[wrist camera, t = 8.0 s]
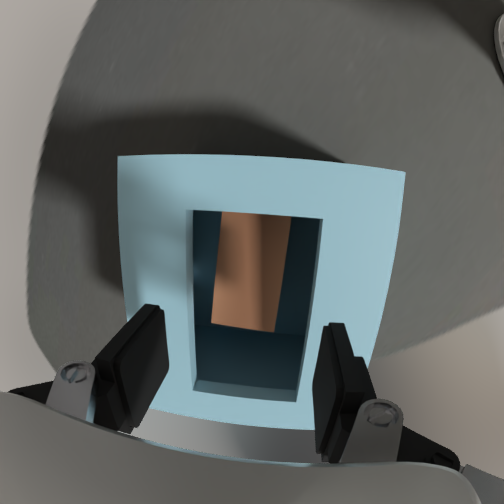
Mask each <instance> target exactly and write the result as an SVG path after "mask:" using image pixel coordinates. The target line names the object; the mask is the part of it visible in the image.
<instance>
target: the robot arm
mask: <svg viewBox="0 0 504 504" xmlns="http://www.w3.org/2000/svg"><path fill="white" fill-rule="evenodd" d="M494 40H495V48H496V52H497V56H498V60H499V62H500V65H501V68H502V71H503V73H504V14H503V15H501V16H499V18H498V19H497V21H496V24H495V28H494ZM168 371H169V355H168V346H167V335H166V324H165V313H164V310H163V309H161V308H160V306H159V305H153V304H146V303H145V304H144V305H143V306H142V307H141V308H140V309H139V310H138V311H137V312H136V314H135V315H134V316H133V317H132V318H131V319H130V320H129V321H128V322H127V323H126V324H125V325H124V326H123V328H122V329H121V330H120V331H119V332H118V333H117V334H116V335H115V336H114V337H113V338H112V339H111V341H110V342H109V343H108V344H107V345H106V346H105V347H104V348H103V349H102V350H101V352H100V353H99V354H98V355H97V356H96V357H95V360H94V361H93V362H92V363H91V364H90V363H89V362H86V361H81V360H77V361H71V362H68V363H66V364H64V365H62V366H61V367H60V368H59V369H58V371H57V373H56V376H55V379H54V381H51V382H45V383H41V384H36V385H31V386H26V387H21V388H16V389H13V390H10V391H9V392H0V504H504V480H503V479H501V478H498V477H496V476H493V475H491V474H488V473H486V472H484V471H481V470H479V469H477V468H475V467H472V466H470V465H468V464H467V465H465V467H463V466H461V465H460V461H459V459H458V457H457V456H456V454H455V453H454V452H452V451H451V450H449V449H448V448H446V447H443V446H441V445H439V444H437V443H435V442H433V441H431V440H429V439H427V438H426V437H424V436H422V435H420V434H418V433H416V432H414V431H412V430H410V429H408V428H407V427H405V426H403V419H404V418H403V412H402V411H401V409H400V408H399V407H398V406H397V405H396V404H394V403H393V402H391V401H388V400H385V399H377V397H376V394H375V391H374V388H373V385H372V382H371V379H370V375H369V372H368V369H367V366H366V363H365V360H364V358H363V357H362V356H354V353H353V349H352V346H351V343H350V340H349V337H348V333H347V330H346V327H345V324H344V323H336V322H329V324H328V326H323V330H322V335H321V341H320V346H319V351H318V357H317V362H316V367H315V371H314V376H313V381H312V395H313V410H314V425H315V441H316V442H315V443H316V453H317V454H320V453H321V457H322V462H329V463H331V464H321V463H288V462H273V461H261V460H252V459H243V458H235V457H227V456H220V455H214V454H208V453H203V452H197V451H192V450H187V449H182V448H178V447H173V446H169V445H165V444H160V443H156V442H153V441H149V440H145V439H141V438H138V437H134V436H130V435H127V434H124V433H128V434H131V432H132V430H133V428H134V427H135V428H137V427H138V426H139V425H140V423H141V421H142V419H143V417H144V415H145V414H146V412H147V410H148V408H149V406H150V404H151V403H152V401H153V399H154V397H155V395H156V393H157V391H158V390H159V388H160V386H161V384H162V382H163V380H164V379H165V377H166V375H167V373H168ZM117 431H121V432H124V433H121V432H117Z"/></svg>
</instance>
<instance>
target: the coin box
mask: <svg viewBox="0 0 504 504" xmlns="http://www.w3.org/2000/svg"><path fill="white" fill-rule="evenodd" d="M404 181H405V172H402V171H396V170H389V169H383V168H376V167H369V166H361V165H353V164H345V163H336V162H327V161H317V160H306V159H294V158H280V157H264V156H244V155H209V154H167V155H133V156H118V173H117V189H118V226H119V244H120V258H121V270H122V281H123V290H124V299H125V307H126V315H127V322H128V321H129V320H130V319H131V318H132V317H133V316H134V315H135V314H136V312H137V311H138V310H139V309H140V308H141V307H142V306H143V305H144V304H145V303H146V304H153V305H159V306H160V308H161V309H163V310H164V313H165V324H166V335H167V346H168V355H169V371H168V373H167V375H166V377H165V379H164V380H163V382H162V384H161V386H160V388H159V390H158V391H157V393H156V395H155V397H154V399H153V401H152V403H151V404H150V406H149V408H152V409H156V410H160V411H165V412H169V413H175V414H179V415H184V416H189V417H195V418H200V419H206V420H212V421H219V422H226V423H233V424H241V425H251V426H260V427H272V428H287V429H308V430H315V425H314V410H313V395H312V381H313V376H314V371H315V367H316V362H317V357H318V351H319V346H320V341H321V335H322V330H323V326H328V324H329V322H336V323H344V324H345V327H346V330H347V333H348V337H349V340H350V343H351V346H352V349H353V353H354V356H362V357H363V358H364V360H365V363H366V366H367V368H368V365H369V362H370V358H371V355H372V351H373V348H374V344H375V341H376V337H377V333H378V329H379V325H380V321H381V317H382V313H383V309H384V305H385V300H386V296H387V291H388V287H389V282H390V277H391V272H392V266H393V261H394V255H395V250H396V244H397V237H398V231H399V224H400V216H401V209H402V200H403V191H404ZM222 211H224V212H240V213H255V214H269V215H283V216H291V224H290V231H289V238H288V245H287V252H286V259H285V265H284V272H283V279H282V285H281V292H280V298H279V304H278V311H277V317H276V323H275V329H274V332H267V331H259V330H253V329H246V328H239V327H233V326H227V325H221V324H215V323H211V320H212V308H213V297H214V286H215V275H216V265H217V255H218V245H219V236H220V226H221V217H222Z"/></svg>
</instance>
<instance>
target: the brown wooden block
mask: <svg viewBox="0 0 504 504" xmlns="http://www.w3.org/2000/svg"><path fill="white" fill-rule="evenodd" d="M290 224H291V216H283V215H269V214H255V213H240V212H224V211H222V217H221V226H220V236H219V245H218V255H217V265H216V275H215V286H214V297H213V308H212V320H211V323H215V324H221V325H227V326H233V327H239V328H246V329H253V330H259V331H267V332H274V329H275V323H276V317H277V311H278V304H279V298H280V292H281V285H282V279H283V272H284V265H285V259H286V252H287V245H288V238H289V231H290Z"/></svg>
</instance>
